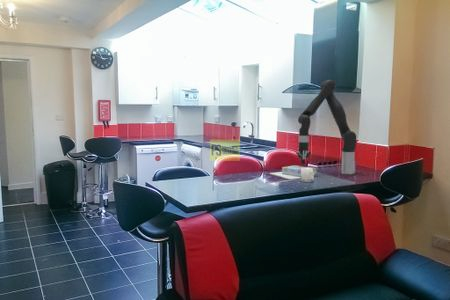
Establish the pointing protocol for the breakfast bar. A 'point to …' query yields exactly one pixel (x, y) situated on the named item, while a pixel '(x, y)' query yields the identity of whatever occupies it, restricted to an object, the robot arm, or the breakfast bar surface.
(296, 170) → the snack box
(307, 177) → the mug
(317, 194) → the breakfast bar surface
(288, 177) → the mat
